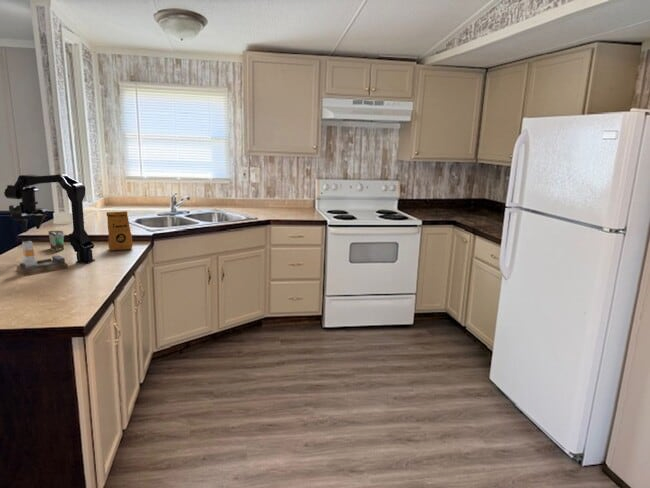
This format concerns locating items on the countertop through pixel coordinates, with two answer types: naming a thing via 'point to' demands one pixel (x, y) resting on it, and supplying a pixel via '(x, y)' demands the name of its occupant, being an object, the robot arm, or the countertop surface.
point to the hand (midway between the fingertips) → (31, 230)
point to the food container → (56, 240)
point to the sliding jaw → (28, 254)
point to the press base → (44, 266)
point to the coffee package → (119, 231)
